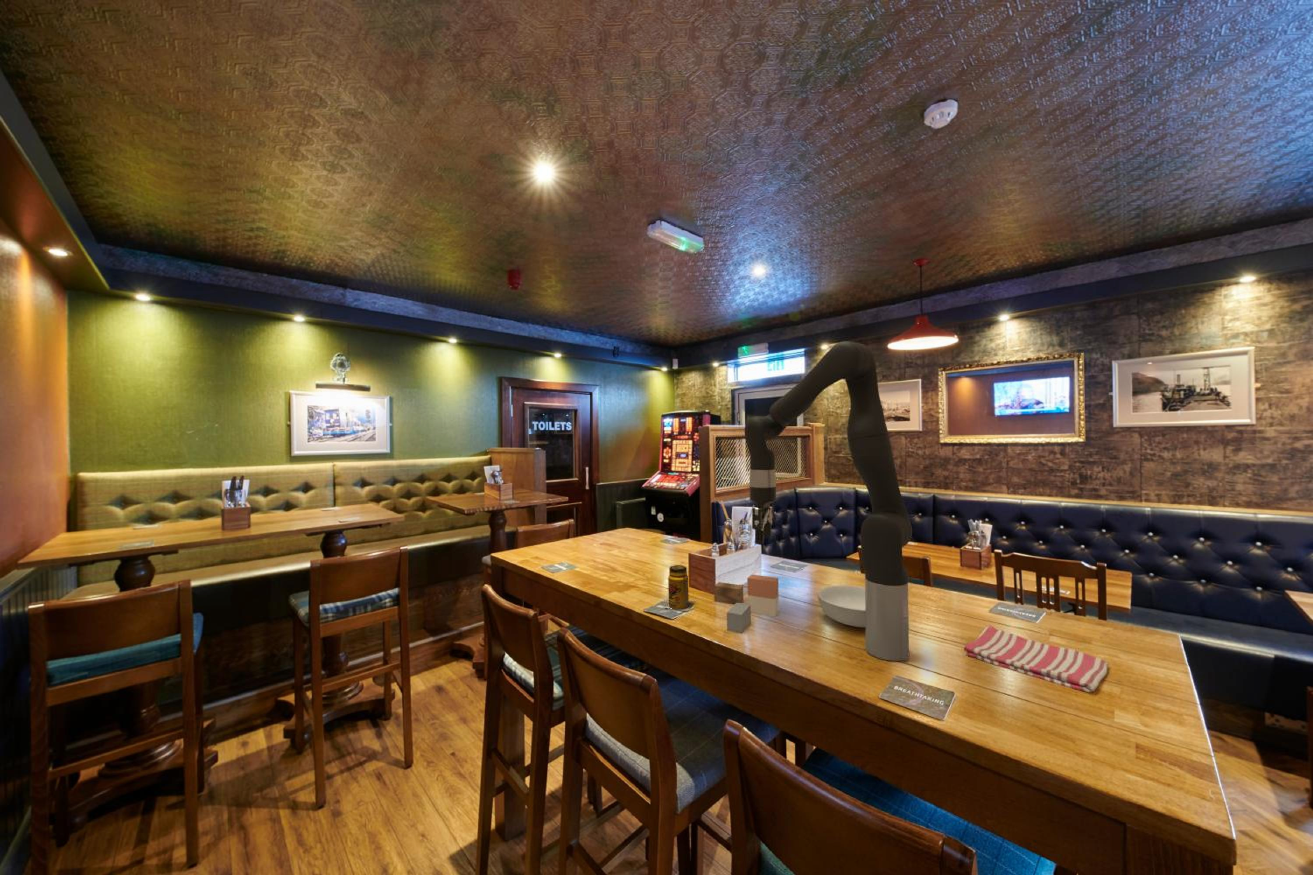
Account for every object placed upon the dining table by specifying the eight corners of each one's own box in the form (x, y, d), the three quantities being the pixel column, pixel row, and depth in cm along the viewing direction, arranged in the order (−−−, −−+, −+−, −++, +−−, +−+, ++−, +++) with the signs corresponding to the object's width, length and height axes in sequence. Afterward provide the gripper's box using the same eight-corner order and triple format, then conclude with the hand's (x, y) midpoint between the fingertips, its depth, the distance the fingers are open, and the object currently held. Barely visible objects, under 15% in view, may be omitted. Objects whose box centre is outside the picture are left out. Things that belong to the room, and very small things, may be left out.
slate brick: (736, 620, 134) (736, 602, 134) (750, 622, 132) (750, 604, 132) (727, 630, 127) (726, 612, 127) (741, 633, 125) (741, 614, 125)
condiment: (664, 609, 143) (663, 569, 143) (672, 599, 151) (672, 561, 151) (687, 611, 140) (687, 571, 140) (695, 602, 148) (694, 563, 148)
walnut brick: (743, 601, 149) (743, 585, 149) (739, 605, 145) (739, 589, 145) (719, 597, 152) (718, 581, 152) (714, 601, 149) (714, 585, 149)
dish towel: (985, 636, 123) (985, 622, 123) (1110, 670, 105) (1110, 654, 105) (962, 657, 112) (962, 642, 112) (1096, 699, 94) (1096, 681, 94)
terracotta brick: (778, 595, 139) (778, 577, 139) (774, 599, 136) (774, 581, 136) (751, 590, 143) (751, 574, 143) (747, 594, 140) (747, 577, 140)
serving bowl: (915, 637, 122) (915, 610, 121) (832, 637, 122) (832, 610, 122) (879, 607, 142) (878, 584, 142) (808, 607, 143) (808, 584, 143)
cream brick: (778, 611, 140) (778, 594, 139) (775, 616, 136) (775, 599, 136) (751, 607, 143) (751, 590, 143) (747, 612, 140) (747, 595, 140)
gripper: (769, 488, 131) (770, 546, 132) (781, 482, 144) (782, 536, 144) (742, 487, 135) (743, 544, 135) (757, 482, 148) (757, 534, 148)
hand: (763, 540), depth 140 cm, fingers open, 8 cm apart
